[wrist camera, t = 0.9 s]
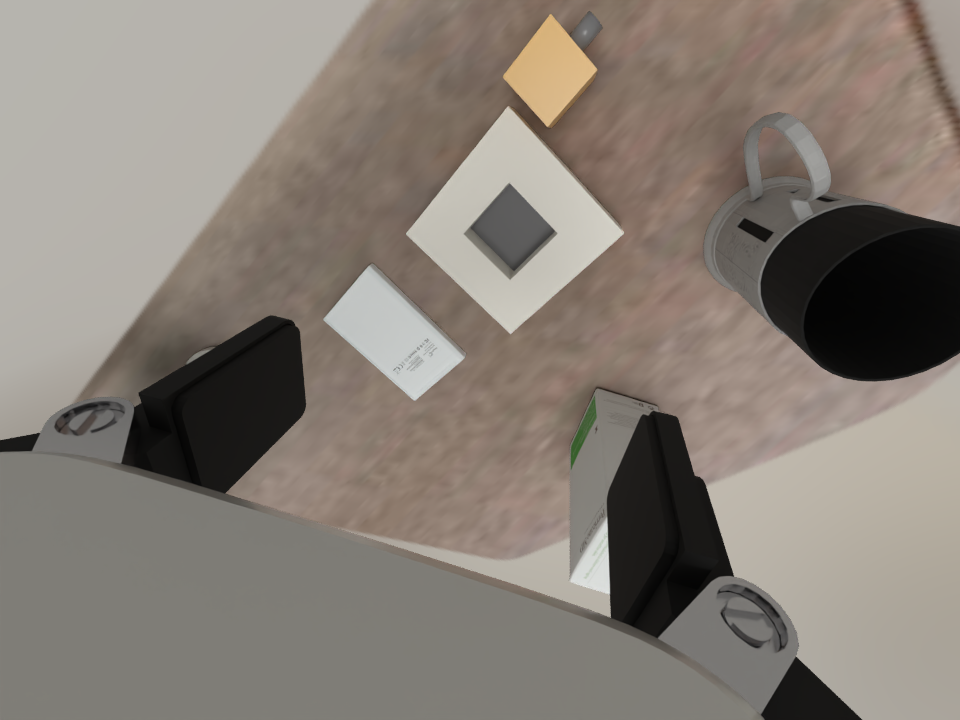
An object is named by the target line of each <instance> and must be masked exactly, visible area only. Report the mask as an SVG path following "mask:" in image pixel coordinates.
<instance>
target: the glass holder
mask: <svg viewBox="0 0 960 720" xmlns="http://www.w3.org/2000/svg"><path fill="white" fill-rule="evenodd" d="M763 127H769V128H773V129H776V130H778V131H779V132H780V133H782V134H783V135H784V136H785V137H786V138H787V139H788V140H789V142H790V143H791V144H792V145H793V146H794V148H795V149H796V151H797V153H798V154H799V156H800V157H801V159H802V161H803V163H804V165H805V167H806V169H807V171H808V174H809V177H810V181H809V180H806V179H803V178H799V177H792V176H778V177H772V178H767V179H763V180H762V179H761V173H760V167H759V157H758V140H759V136H760V133H761V130H762V128H763ZM743 152H744V160H745V166H746V173H747V178H748V183H749V185H748V186H747V187H745V188H743V189H741V190H740V191H738V192H737V193H736V194H734V195H733V196H731V197H730V198H729V199H728V200H727V201H726V202H725V203H724V204H723V205H722V206H721V207H720V209H719V210H718V211H717V212H716V214H715V215H714V217H713V219H712V220H711V222H710V224H709V226H708V229H707V232H706V234H705V239H704V259H705V263H706V266H707V268H708V270H709V272H710V273H711V275H712V276H713V277H714V279H715V280H717V281H718V282H719V283H720V284H721V285H723V286H725V287H726V288H728V289H730V290H733V291H736V292H738V293H739V294H740V295H741V296H742V297H743V298H744V299H745V300H746V301H747V302H748V303H749V304H750V305H751V306H752V307H753V308H754V309H755V310H756V311H757V312H758V313H759V314H761V315H762V316H763V317H764V318H765V319H766V320H767V321H768V322H769V323H770V324H771V325H772V326H773V327H774V328H775V329H776V330H777V331H779V332H780V333H782V334H784V335H786V336H788V337H789V338H790V339H792V340H793V341H794V342H795V343H796V344H797V345H798V346H799V347H800V348H801V349H802V350H803V351H804V352H805V353H806V354H807V355H808V356H809V357H810V358H812V359H813V360H814V361H815V362H816V363H817V364H818V365H819V366H820V367H822V368H823V369H825V370H827V371H829V372H830V373H832V374H835V375H838V376H840V377H843V378H847V379H852V380H858V381H886V380H894V379H899V378H904V377H909V376H912V375H915V374H918V373H921V372H924V371H927V370H929V369H931V368H933V367H936V366H938V365H940V364H942V363H944V362H946V361H947V360H949V359H951V358H952V357H954V356H956V355H957V354H959V353H960V226H955V225H951V224H947V223H943V222H939V221H935V220H930V219H926V218H922V217H918V216H914V215H910V214H907V213H905V212H903V211H901V210H900V209H897V208H894V207H891V206H888V205H885V204H881V203H876V202H872V201H867V200H863V199H859V198H854V197H850V196H845V195H841V194H836V193H832V192H828V190H829V187H830V184H831V173H830V170H829V166H828V163H827V160H826V158H825V156H824V154H823V151H822V149H821V147H820V146H819V144H818V143H817V141H816V140H815V138H814V137H813V135H812V134H811V132H810V131H809V130H808V129H807V128H806V127H805V126H804V125H803V123H802V122H801V121H799V120H798V119H796V118H795V117H793V116H792V115H790V114H786V113H780V112H778V113H774V114H770V115H767V116H764V117H762V118H761V119H760V120H758V121H757V122H756V123H754V124H753V125H752V126H751V127H750V128H749V130H748V131H747V134H746V136H745V139H744V144H743Z"/></svg>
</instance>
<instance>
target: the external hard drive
mask: <svg viewBox="0 0 960 720" xmlns="http://www.w3.org/2000/svg"><path fill="white" fill-rule="evenodd" d="M323 320H324V321H325V322H326V323H327V324H328V325H330V326H331V327H332V328H333V329H334V330H335V331H336V332H337V333H339V334H340V335H341V336H342V337H343V338H344V339H345V340H346V341H348V342H349V343H350V344H351V345H352V346H353V347H354V348H355V349H357V350H358V351H359V352H360V353H361V354H362V355H363V356H364V357H366V358H367V359H368V360H369V361H370V362H371V363H372V364H373V365H375V366H376V367H377V368H378V369H379V370H380V371H381V372H382V373H384V374H385V375H386V376H387V377H388V378H389V379H390V380H391V381H393V382H394V383H395V384H396V385H397V386H398V387H399V388H400V389H402V390H403V391H404V392H405V393H406V394H407V395H408V396H409V397H410V398H412V399H413V400H414V401H415V400H416V399H418V398H419V397H420V396H421V395H422V394H423V393H425V392H426V391H427V390H428V389H429V388H430V387H432V386H433V385H434V384H435V383H436V382H437V381H439V380H440V379H441V378H442V377H443V376H445V375H446V374H447V373H448V372H449V371H450V370H452V369H453V368H454V367H455V366H456V365H457V364H459V363H460V362H461V361H462V360H463V359H464V358H465V356H466V353H465V352H464V351H463V350H462V349H461V348H460V347H459V346H458V345H457V344H456V343H455V342H454V341H453V340H452V339H451V338H450V337H449V336H448V335H447V334H446V333H445V332H444V331H443V330H441V329H440V328H439V327H438V326H437V325H436V324H435V323H434V322H433V321H432V320H431V319H430V318H429V317H428V316H427V315H426V314H425V313H424V312H423V311H422V310H421V309H420V308H419V307H418V306H417V305H416V304H415V303H414V302H413V301H411V300H410V299H409V298H408V297H407V296H406V295H405V294H404V293H403V292H402V291H401V290H400V289H399V288H398V287H397V286H396V285H395V284H394V283H393V282H392V281H391V280H390V279H389V278H388V277H387V276H386V275H385V274H384V273H383V272H381V271H380V270H379V269H378V268H377V267H376V266H375V265H374V264H373V263H372V264H371V265H369V266H368V267H367V268H366V269H365V270H364V272H363V273H362V274H361V275H360V276H359V278H358V279H357V280H356V281H355V282H354V283H353V285H352V286H351V287H350V288H349V289H348V290H347V292H346V293H345V294H344V295H343V296H342V298H341V299H340V300H339V301H338V302H337V303H336V305H335V306H334V307H333V308H332V309H331V311H330V312H329V313H328V314H327V315H326V317H325V318H324V319H323Z"/></svg>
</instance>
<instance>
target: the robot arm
mask: <svg viewBox="0 0 960 720" xmlns="http://www.w3.org/2000/svg"><path fill="white" fill-rule="evenodd" d="M139 396H140V399H141V402H142V403H141V404H139V405H137V406H136V407H134V405H133V404H132V403H131V402H130V401H128V400H126V399H123V398H118V397H98V398H93V399H88V400H84V401H81V402H78V403H75V404H72V405H70V406H67V407H65V408H64V409H62V410H60V411H58V412H57V413H55V414H54V415H53V416H51V417H50V418H49V420H48V421H47V422H46V423H45V425H44V427H43V429H42V431H41V433H37V434H32V435H26V436H21V437H16V438H10V439H5V440H0V720H862V719H861V718H860V717H859V716H858V715H856V714H855V712H854V711H853V710H851V709H850V708H849V707H848V706H847V705H846V704H845V703H844V702H843V701H842V700H841V699H840V698H839V697H838V696H837V695H836V694H835V693H834V692H832V690H831V689H830V688H828V687H827V686H826V685H825V684H824V683H823V682H822V681H821V680H820V679H819V678H818V677H817V676H816V675H815V674H814V673H813V672H812V671H811V670H810V669H808V667H806V666H805V665H804V664H803V663H802V662H801V661H800V660H799V659H798V658H797V657H796V655H797V651H798V647H799V643H798V638H797V632H796V630H795V628H794V626H793V624H792V622H791V620H790V618H789V617H788V615H787V614H786V613H785V611H784V610H783V609H782V607H781V606H780V605H779V604H778V603H777V602H776V601H775V600H774V599H773V598H772V597H771V596H770V595H768V594H767V593H766V592H765V591H763V590H762V589H760V588H759V587H757V586H756V585H754V584H752V583H750V582H748V581H746V580H744V579H741V578H737V577H734V575H733V571H732V568H731V565H730V562H729V559H728V556H727V552H726V549H725V546H724V543H723V539H722V536H721V533H720V530H719V527H718V524H717V520H716V517H715V514H714V511H713V507H712V504H711V502H710V498H709V495H708V491H707V488H706V485H705V483H704V481H703V479H701V478H700V477H697V476H695V475H694V472H693V468H692V465H691V462H690V458H689V455H688V451H687V448H686V444H685V441H684V437H683V434H682V430H681V427H680V424H679V420H678V418H677V417H676V416H672V415H668V414H664V413H660V412H656V411H652V412H651V413H650V414H649V415H645V414H643V415H642V416H641V417H640V419H639V421H638V424H637V426H636V428H635V431H634V433H633V435H632V437H631V440H630V442H629V444H628V447H627V449H626V451H625V453H624V456H623V458H622V460H621V463H620V465H619V467H618V470H617V472H616V474H615V476H614V479H613V481H612V483H611V486H610V488H609V491H608V495H607V525H608V552H609V579H610V606H611V618H610V617H607V616H604V615H602V614H599V613H596V612H594V611H591V610H589V609H585V608H583V607H580V606H577V605H574V604H571V603H568V602H565V601H562V600H559V599H556V598H553V597H550V596H547V595H544V594H541V593H538V592H535V591H532V590H529V589H526V588H523V587H520V586H517V585H514V584H511V583H508V582H505V581H502V580H499V579H495V578H492V577H489V576H486V575H483V574H480V573H477V572H474V571H470V570H467V569H464V568H461V567H458V566H455V565H452V564H448V563H445V562H442V561H439V560H436V559H432V558H430V557H426V556H423V555H420V554H417V553H414V552H411V551H408V550H404V549H401V548H398V547H395V546H392V545H388V544H385V543H382V542H379V541H376V540H373V539H369V538H366V537H363V536H360V535H357V534H354V533H350V532H347V531H344V530H341V529H338V528H334V527H331V526H328V525H325V524H322V523H318V522H315V521H312V520H309V519H305V518H302V517H299V516H296V515H293V514H289V513H286V512H283V511H280V510H276V509H273V508H270V507H267V506H263V505H260V504H257V503H254V502H250V501H247V500H244V499H241V498H237V497H234V496H231V495H228V494H225V493H226V492H227V491H228V490H229V489H230V488H231V487H232V486H233V485H234V484H235V483H236V482H237V481H238V480H239V479H240V478H241V477H242V476H243V475H244V474H245V473H246V472H247V471H248V470H249V469H250V468H251V467H252V466H253V465H254V464H255V463H256V462H257V461H258V460H259V459H260V458H261V457H262V456H263V455H264V454H265V453H266V452H267V451H268V450H269V449H270V448H271V447H272V446H273V445H274V444H275V443H276V442H277V441H278V440H279V439H280V438H281V437H282V436H283V435H284V434H285V433H286V432H287V431H288V430H289V429H290V428H291V427H292V426H293V425H294V424H295V423H296V422H297V421H298V420H299V419H300V418H301V416H302V415H303V413H304V411H305V408H306V399H305V387H304V376H303V364H302V352H301V341H300V331H299V329H298V328H297V327H295V324H294V322H293V321H292V320H289V319H285V318H281V317H277V316H271V315H270V316H268V317H266V318H264V319H262V320H261V321H259V322H257V323H256V324H254V325H252V326H251V327H249V328H247V329H246V330H244V331H242V332H240V333H239V334H237V335H235V336H234V337H232V338H230V339H229V340H227V341H225V342H224V343H222V344H220V345H219V346H217V347H209V348H206V349H203V350H201V351H199V352H198V353H196V354H194V355H193V356H192V357H191V358H190V359H189V360H188V361H187V363H186V365H185V366H183V367H181V368H180V369H178V370H176V371H175V372H173V373H171V374H170V375H168V376H166V377H165V378H163V379H161V380H159V381H158V382H156V383H154V384H153V385H151V386H149V387H148V388H146V389H144V390H143V391H141V392H139Z"/></svg>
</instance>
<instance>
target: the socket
mask: <svg viewBox="0 0 960 720" xmlns="http://www.w3.org/2000/svg"><path fill="white" fill-rule="evenodd" d="M623 234H624V232H623V230H622V228H621V226H620V224H619V223H618V222H617V221H616V220H615V219H614V218H613V217H612V216H611V215H610V213H609V212H608V211H607V210H606V209H605V208H604V207H603V206H602V205H601V204H600V202H599V201H598V200H597V199H596V198H595V197H594V196H593V195H592V194H591V193H590V191H589V190H588V189H587V188H586V187H585V186H584V185H583V184H582V183H581V182H580V180H579V179H578V178H577V177H576V176H575V175H574V174H573V173H572V172H571V171H570V169H569V168H568V167H567V166H566V165H565V164H564V163H563V162H562V161H561V160H560V158H559V157H558V156H557V155H556V154H555V153H554V152H553V151H552V150H551V149H550V147H549V146H548V145H547V144H546V143H545V142H544V141H543V140H542V139H541V138H540V136H539V135H538V134H537V133H536V132H535V131H534V130H533V129H532V128H531V127H530V125H529V124H528V123H527V122H526V121H525V120H524V119H523V118H522V117H521V116H520V114H519V113H518V112H517V111H516V110H515V109H514V108H512V107H510V106H508V107H507V108H506V109H505V111H504V112H503V113H502V114H501V116H500V117H499V118H498V119H497V121H496V122H495V123H494V124H493V126H492V127H491V128H490V129H489V131H488V132H487V133H486V134H485V136H484V137H483V138H482V139H481V141H480V142H479V143H478V144H477V146H476V147H475V148H474V149H473V151H472V152H471V153H470V154H469V156H468V157H467V158H466V159H465V161H464V162H463V163H462V164H461V166H460V167H459V168H458V169H457V171H456V172H455V173H454V174H453V176H452V177H451V178H450V179H449V181H448V182H447V183H446V184H445V186H444V187H443V188H442V189H441V191H440V192H439V193H438V194H437V196H436V197H435V198H434V199H433V201H432V202H431V203H430V204H429V206H428V207H427V208H426V209H425V211H424V212H423V213H422V214H421V216H420V217H419V218H418V219H417V221H416V222H415V223H414V224H413V226H412V227H411V228H410V229H409V231H408V232H407V233H406V235H407V236H408V237H409V238H410V239H411V240H412V241H414V242H415V243H416V244H417V245H418V246H419V247H420V248H421V249H422V250H423V251H424V252H425V253H426V254H427V255H428V256H429V257H430V258H431V259H432V260H433V261H434V262H436V263H437V264H438V265H439V266H440V267H441V268H442V269H443V270H444V271H445V272H446V273H447V274H448V275H449V276H450V277H451V278H452V279H453V280H454V281H455V282H456V283H458V284H459V285H460V286H461V287H462V288H463V289H464V290H465V291H466V292H467V293H468V294H469V295H470V296H471V297H472V298H473V299H474V300H475V301H476V302H477V303H479V304H480V305H481V306H482V307H483V308H484V309H485V310H486V311H487V312H488V313H489V314H490V315H491V316H492V317H493V318H494V319H495V320H496V321H497V322H498V323H499V324H501V325H502V326H503V327H504V328H505V329H506V330H507V331H508V332H509V333H510V334H511V333H512V332H513V331H514V330H516V329H517V328H518V327H519V326H520V325H521V324H522V323H524V322H525V321H526V320H527V319H528V318H529V317H530V316H531V315H533V314H534V313H535V312H536V311H537V310H538V309H539V308H541V307H542V306H543V305H544V304H545V303H546V302H547V301H548V300H550V299H551V298H552V297H553V296H554V295H555V294H556V293H557V292H559V291H560V290H561V289H562V288H563V287H564V286H565V285H567V284H568V283H569V282H570V281H571V280H572V279H573V278H574V277H576V276H577V275H578V274H579V273H580V272H581V271H582V270H583V269H585V268H586V267H587V266H588V265H589V264H590V263H591V262H593V261H594V260H595V259H596V258H597V257H598V256H599V255H600V254H602V253H603V252H604V251H605V250H606V249H607V248H608V247H610V246H611V245H612V244H613V243H614V242H615V241H616V240H617V239H619V238H620V237H621V236H622V235H623Z"/></svg>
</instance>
